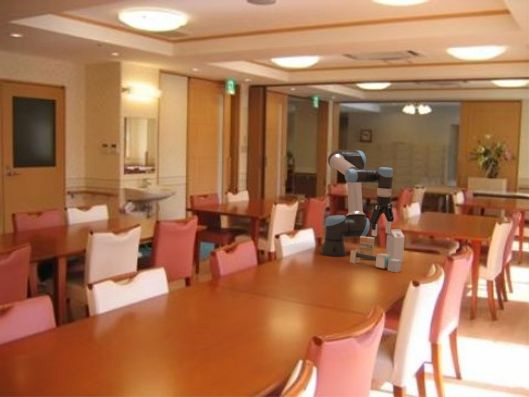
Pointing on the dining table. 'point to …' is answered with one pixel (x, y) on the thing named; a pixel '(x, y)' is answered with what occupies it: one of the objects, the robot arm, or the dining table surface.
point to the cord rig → (393, 264)
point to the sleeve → (381, 260)
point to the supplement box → (366, 246)
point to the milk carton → (395, 244)
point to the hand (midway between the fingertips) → (380, 234)
